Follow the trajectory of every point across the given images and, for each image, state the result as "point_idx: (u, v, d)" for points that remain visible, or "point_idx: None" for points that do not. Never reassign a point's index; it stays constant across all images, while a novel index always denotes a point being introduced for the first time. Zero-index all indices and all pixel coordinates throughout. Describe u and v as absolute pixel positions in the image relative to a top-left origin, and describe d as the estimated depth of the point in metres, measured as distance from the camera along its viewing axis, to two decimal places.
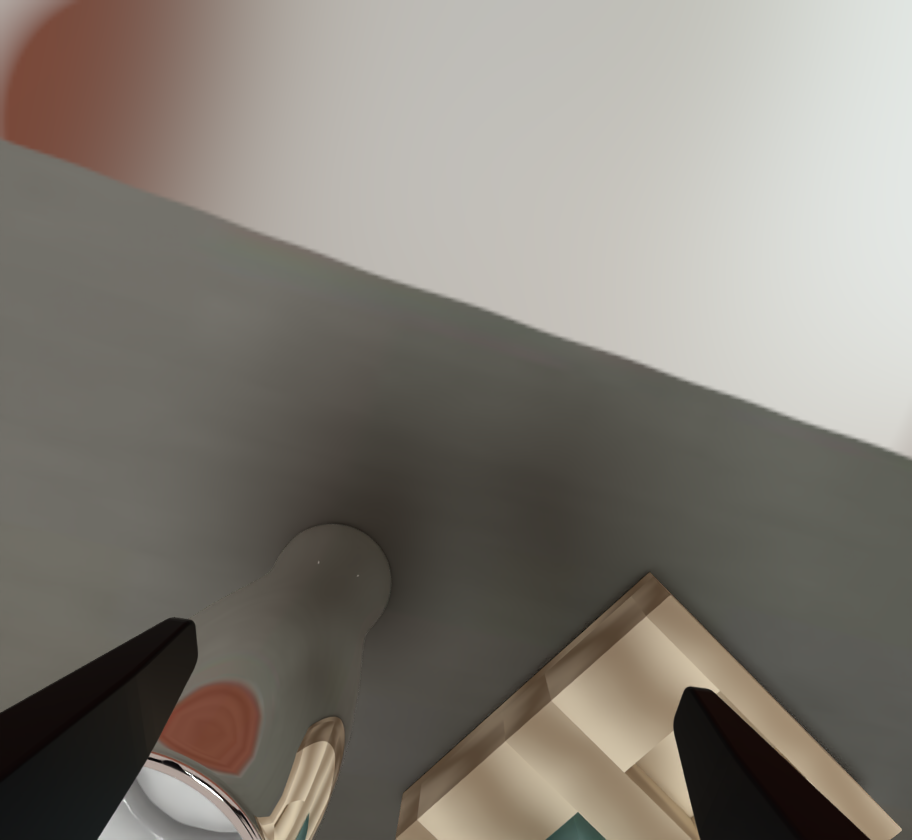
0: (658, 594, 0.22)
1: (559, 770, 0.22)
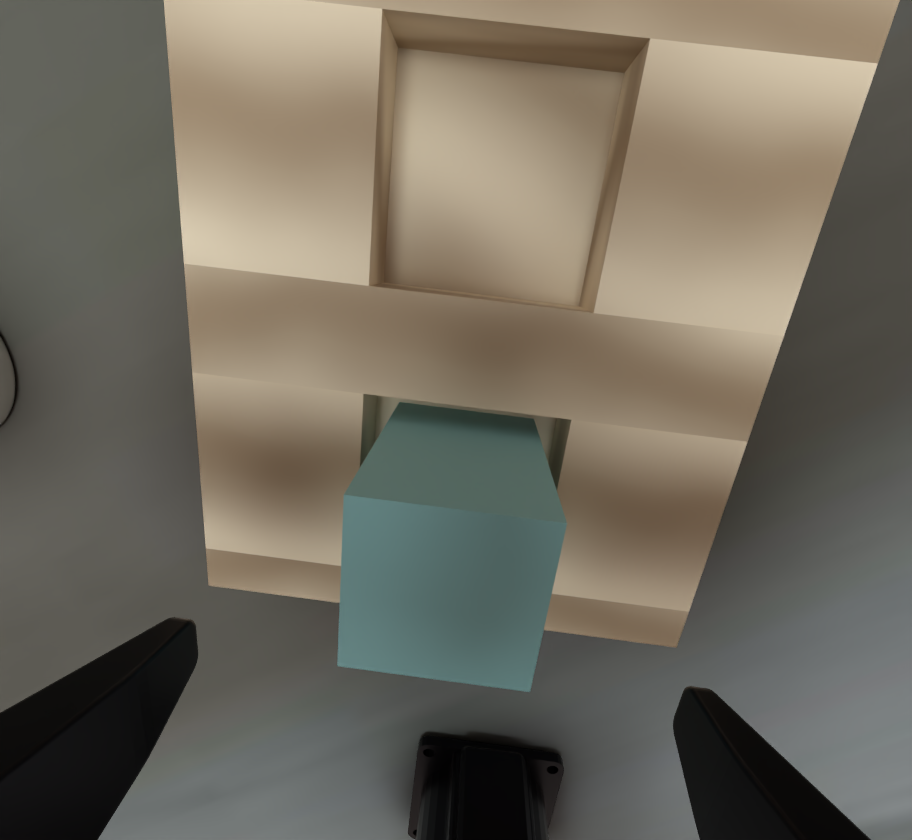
0: None
1: (288, 356, 0.13)
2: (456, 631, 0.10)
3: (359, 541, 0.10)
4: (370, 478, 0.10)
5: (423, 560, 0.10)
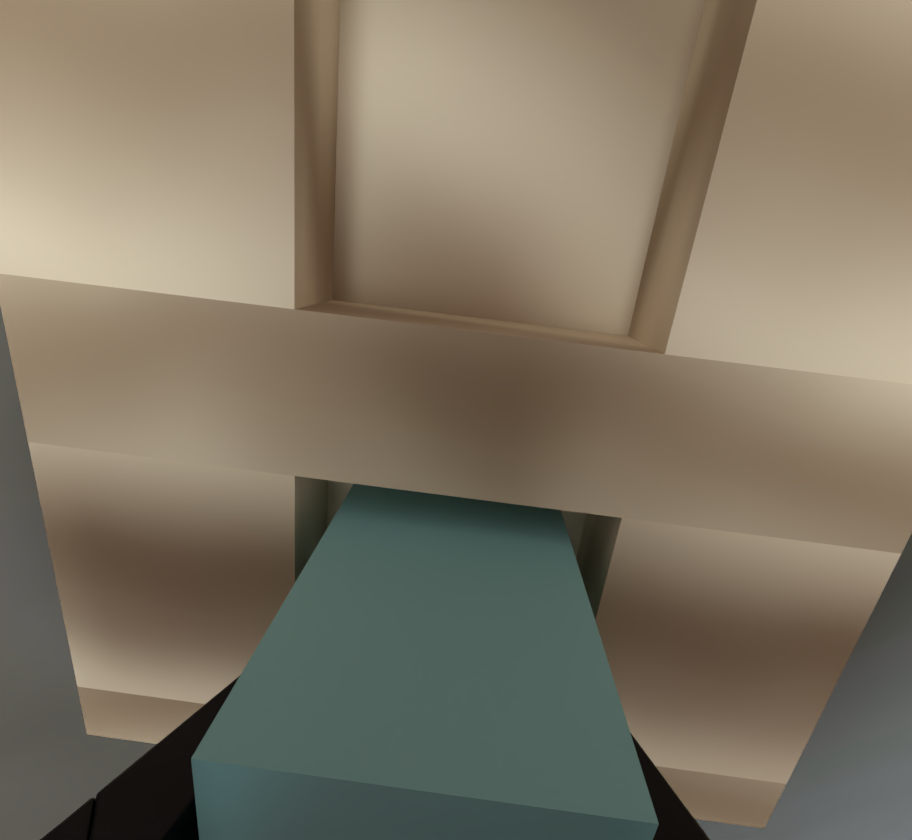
0: None
1: (173, 418, 0.08)
2: None
3: (233, 834, 0.05)
4: (264, 687, 0.05)
5: None
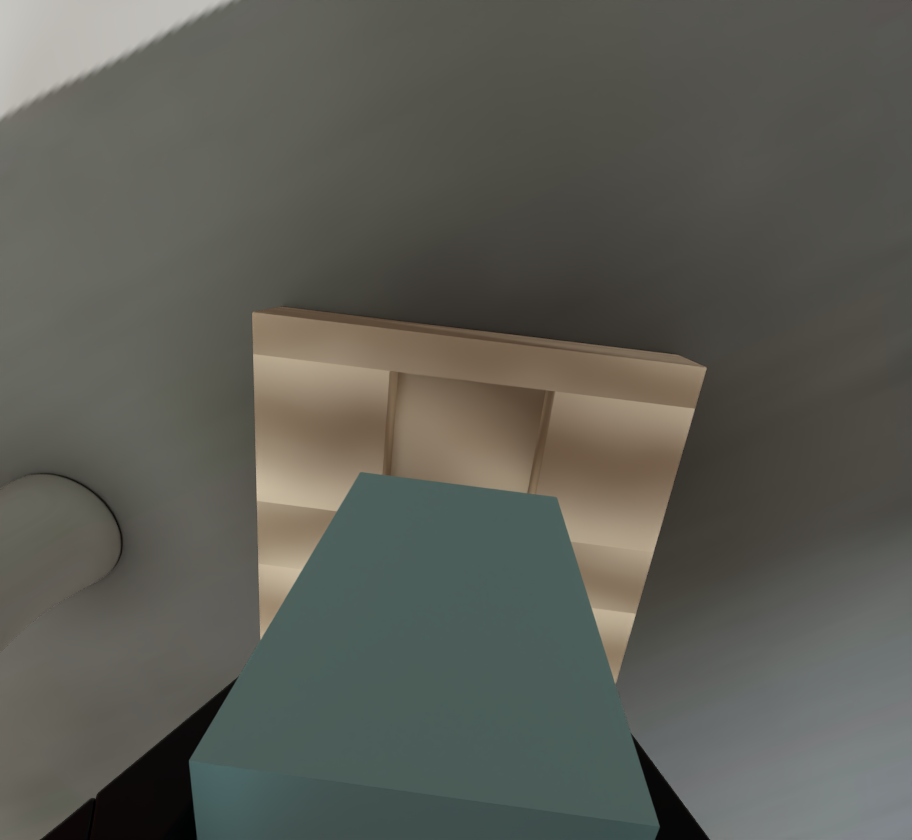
0: None
1: None
2: None
3: (231, 837, 0.05)
4: (263, 688, 0.05)
5: None
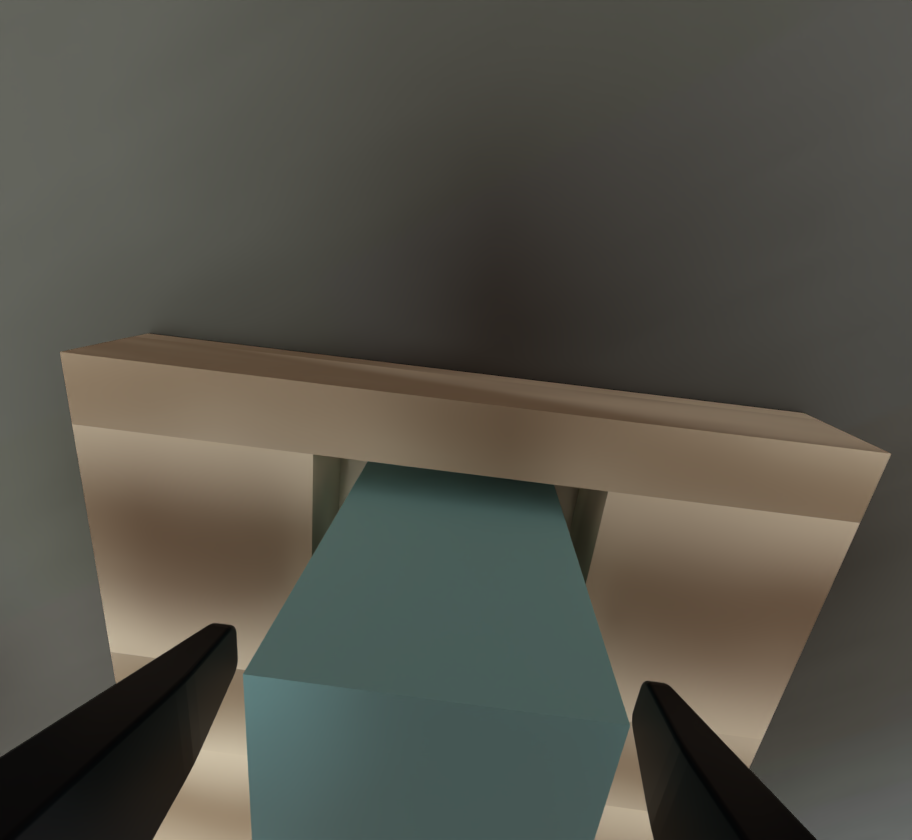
0: None
1: (227, 730, 0.12)
2: None
3: (275, 742, 0.06)
4: (298, 624, 0.06)
5: (383, 772, 0.06)
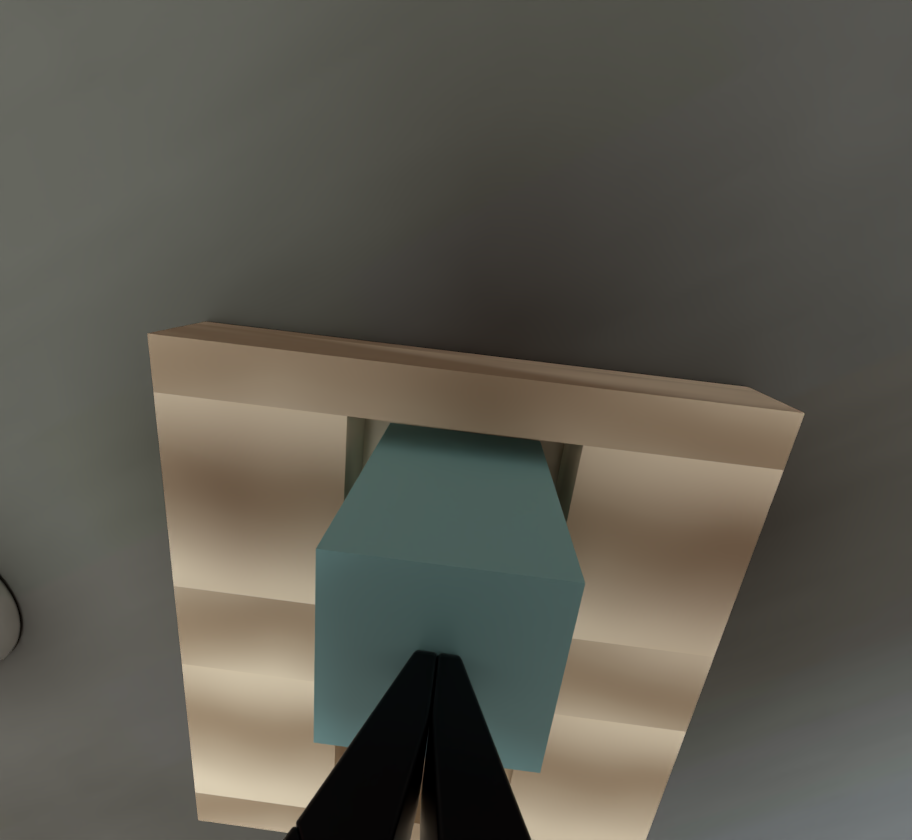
0: None
1: (268, 655, 0.14)
2: None
3: (335, 602, 0.08)
4: (349, 524, 0.09)
5: (412, 624, 0.08)
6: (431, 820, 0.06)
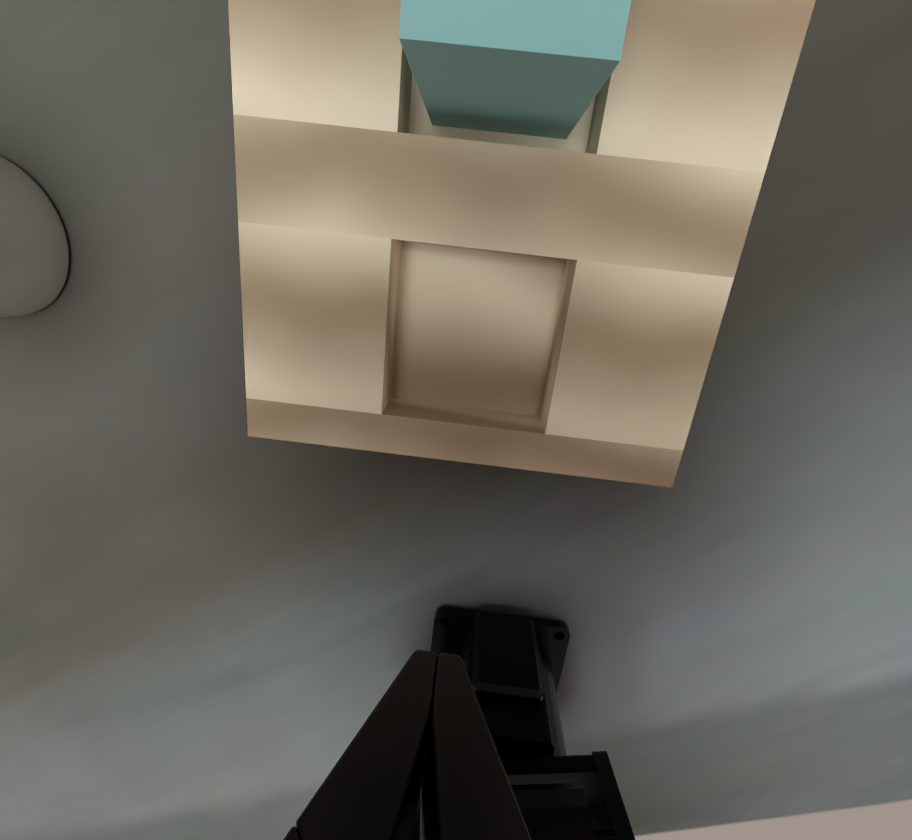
0: None
1: (324, 203, 0.15)
2: None
3: None
4: None
5: None
6: (431, 820, 0.06)
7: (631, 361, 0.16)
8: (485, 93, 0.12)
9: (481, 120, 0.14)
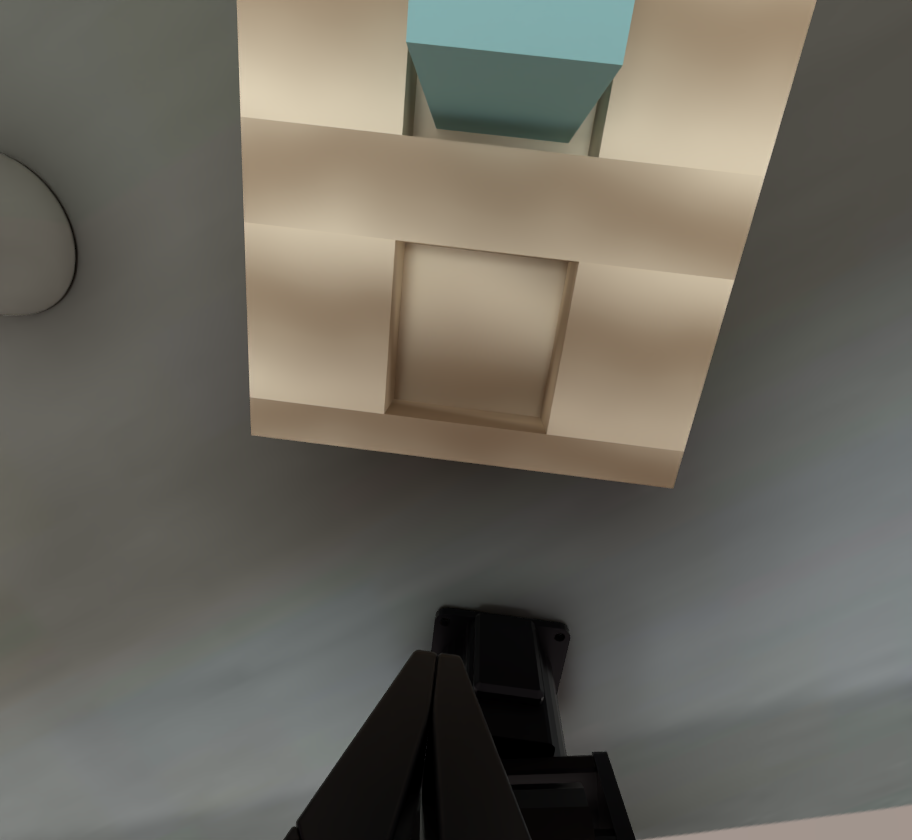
0: None
1: (329, 204, 0.15)
2: None
3: None
4: None
5: None
6: (431, 820, 0.06)
7: (632, 362, 0.16)
8: (489, 97, 0.12)
9: (485, 124, 0.15)
